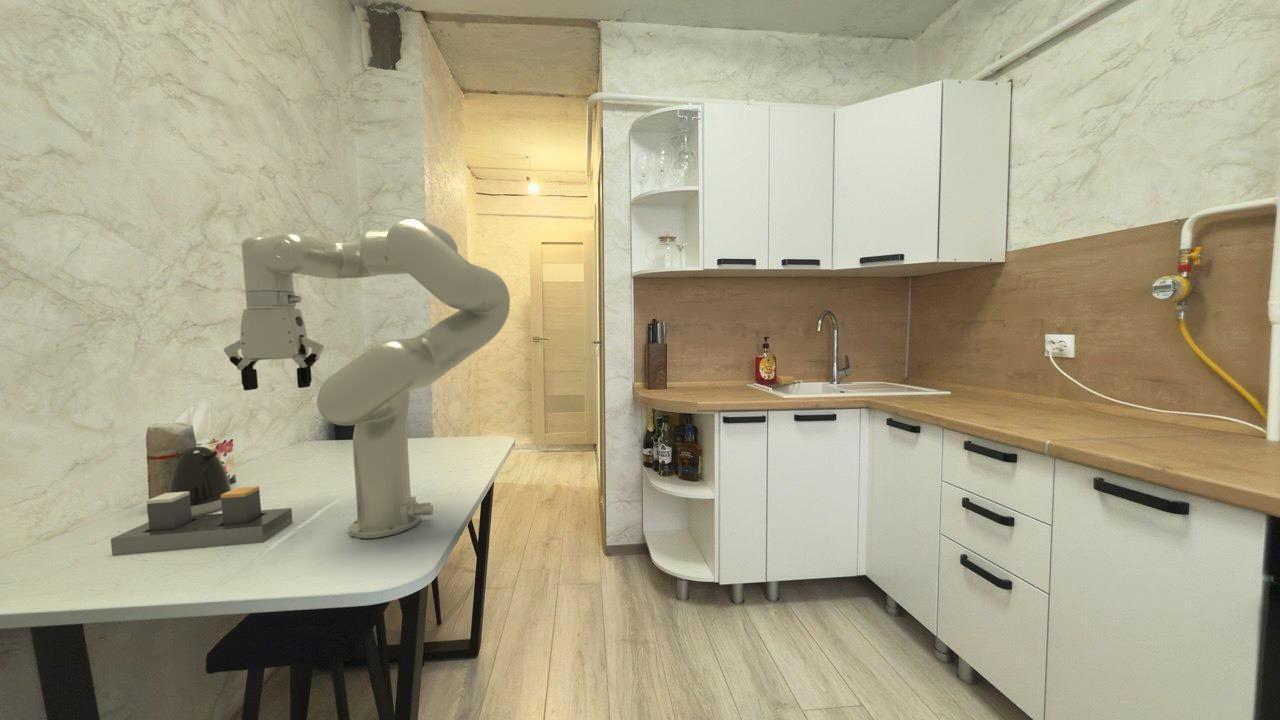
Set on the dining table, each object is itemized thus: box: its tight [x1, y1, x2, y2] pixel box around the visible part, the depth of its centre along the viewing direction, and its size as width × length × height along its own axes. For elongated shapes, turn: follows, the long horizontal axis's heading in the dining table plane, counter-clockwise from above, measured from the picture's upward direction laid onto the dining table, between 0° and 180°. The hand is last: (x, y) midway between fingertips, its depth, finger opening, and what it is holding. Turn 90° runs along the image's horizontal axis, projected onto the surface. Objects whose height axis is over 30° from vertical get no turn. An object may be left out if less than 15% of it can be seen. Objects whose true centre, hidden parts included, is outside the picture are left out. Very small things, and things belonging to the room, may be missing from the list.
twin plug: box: [146, 491, 192, 532], centre depth 87 cm, size 4×4×9 cm
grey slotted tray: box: [110, 507, 293, 556], centre depth 88 cm, size 24×9×4 cm, turn 98°
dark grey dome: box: [168, 446, 232, 516], centre depth 102 cm, size 10×10×15 cm
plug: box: [221, 485, 262, 526], centre depth 88 cm, size 4×4×9 cm
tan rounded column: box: [145, 422, 198, 500], centre depth 106 cm, size 8×8×20 cm
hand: (277, 388), depth 93 cm, fingers open, 9 cm apart
